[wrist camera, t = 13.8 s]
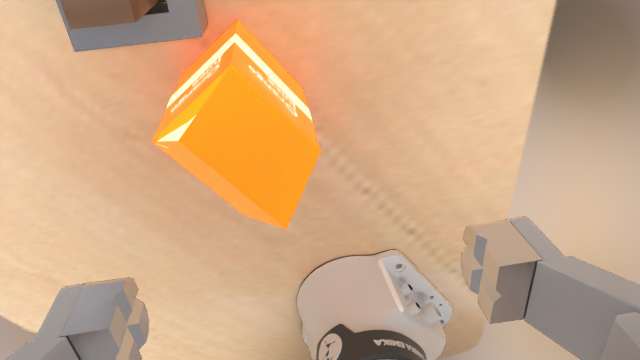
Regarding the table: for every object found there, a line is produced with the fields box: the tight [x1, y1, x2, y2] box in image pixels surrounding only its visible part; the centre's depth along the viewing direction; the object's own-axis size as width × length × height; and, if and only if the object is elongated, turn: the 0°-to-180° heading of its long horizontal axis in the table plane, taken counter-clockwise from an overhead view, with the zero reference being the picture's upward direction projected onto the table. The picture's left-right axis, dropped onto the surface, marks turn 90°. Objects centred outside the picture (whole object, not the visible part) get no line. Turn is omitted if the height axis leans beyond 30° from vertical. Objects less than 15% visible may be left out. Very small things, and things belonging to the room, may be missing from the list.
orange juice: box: [152, 19, 321, 229], centre depth 34 cm, size 8×9×20 cm
